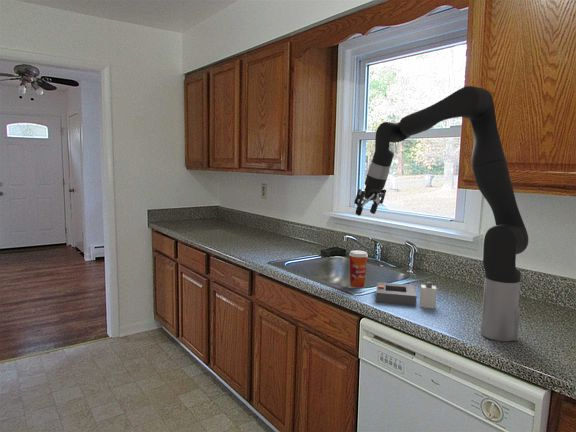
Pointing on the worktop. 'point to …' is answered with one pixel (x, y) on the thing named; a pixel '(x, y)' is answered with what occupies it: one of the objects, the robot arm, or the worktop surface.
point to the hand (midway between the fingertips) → (365, 213)
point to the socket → (396, 293)
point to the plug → (428, 295)
